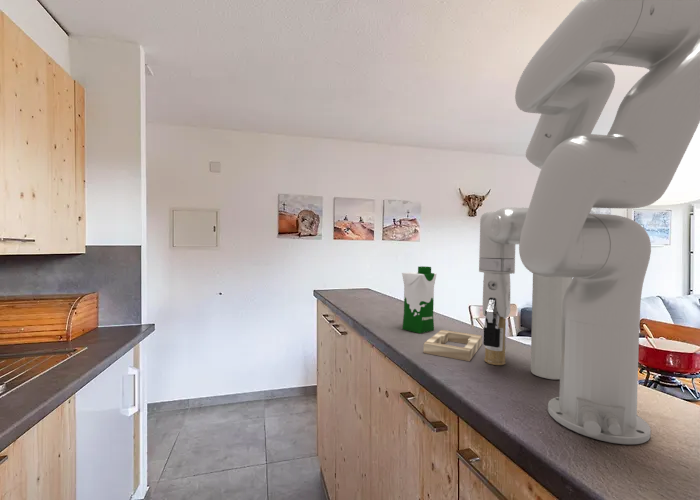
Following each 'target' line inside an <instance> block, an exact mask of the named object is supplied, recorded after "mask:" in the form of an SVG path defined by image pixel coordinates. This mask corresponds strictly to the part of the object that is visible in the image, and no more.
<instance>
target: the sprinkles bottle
mask: <svg viewBox="0 0 700 500" xmlns="http://www.w3.org/2000/svg"><path fill="white" fill-rule="evenodd" d="M495 306H496V305H495ZM485 312H486V311H485ZM497 315H498V314H497ZM506 320H507V318H506V319H503V317H500V320H499V329H500V346H499V347H498V348H497V347H491V346H485V345H484V362H486V364H489V365H493V366H504V365H505V364H506V347H507V345H506V343H507V341H506V340H507V336H506V335H507V334H506V324H507V322H506Z"/></svg>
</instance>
